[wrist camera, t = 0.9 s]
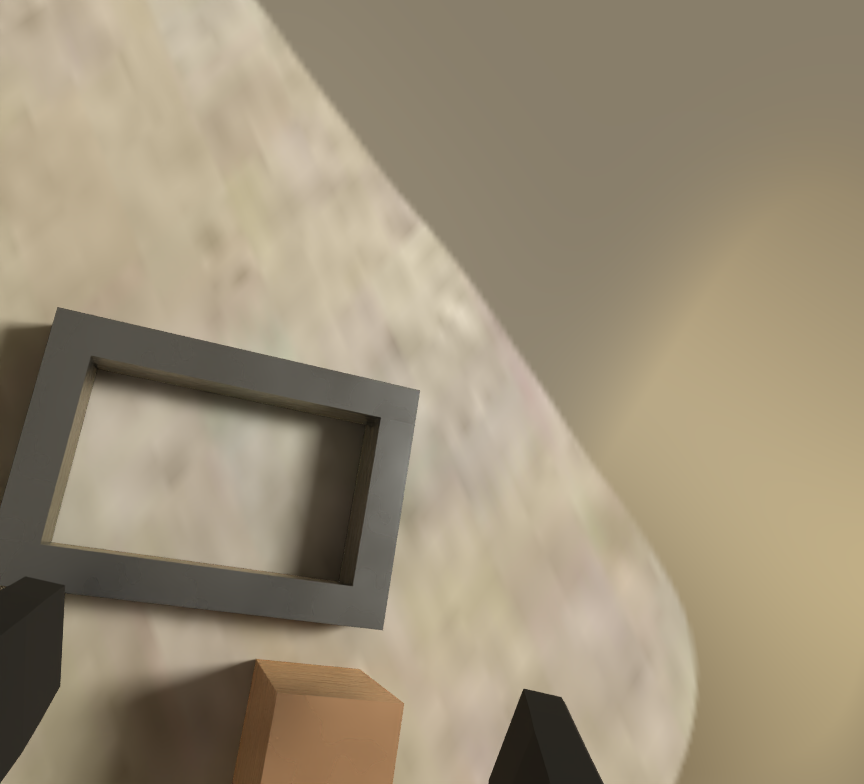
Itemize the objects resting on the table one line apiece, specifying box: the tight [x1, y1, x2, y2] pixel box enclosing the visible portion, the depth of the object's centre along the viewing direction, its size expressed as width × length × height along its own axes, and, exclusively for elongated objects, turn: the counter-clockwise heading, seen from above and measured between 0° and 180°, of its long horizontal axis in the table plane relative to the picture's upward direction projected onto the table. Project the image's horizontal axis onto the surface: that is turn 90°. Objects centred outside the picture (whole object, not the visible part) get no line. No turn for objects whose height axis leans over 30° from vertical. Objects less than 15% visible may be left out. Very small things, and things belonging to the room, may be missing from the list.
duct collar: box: [0, 307, 420, 630], centre depth 23 cm, size 8×11×2 cm
